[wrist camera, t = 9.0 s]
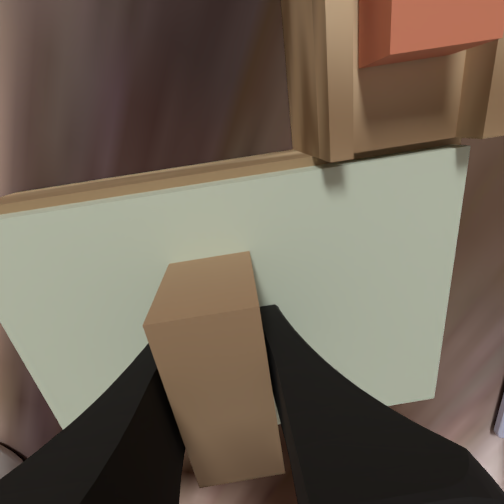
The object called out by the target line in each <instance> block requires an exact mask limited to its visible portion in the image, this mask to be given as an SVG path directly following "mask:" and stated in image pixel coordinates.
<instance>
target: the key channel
mask: <svg viewBox="0 0 504 504" xmlns="http://www.w3.org/2000/svg"><path fill="white" fill-rule="evenodd" d="M281 11H282V23H283V35H284V47H285V60H286V72H287V84H288V97H289V109H290V121H291V133H292V146H293V150H296V151H299V152H302V153H305V154H307V155H310V156H313V157H316V158H319V159H322V160H325V161H328V162H337V161H343V160H350V159H354V153H359V152H365V151H372V150H378V149H385V148H391V147H398V146H404V145H410V144H417V143H423V142H430V141H436V140H443V139H449V138H477V139H484V138H491V137H497V136H504V32H503V38H500V39H497V40H494V41H491V42H488V43H485V44H482V45H479V46H476V47H473V48H469V49H466V50H463V51H460V52H457V53H454V54H451V55H446V56H439V57H432V58H426V59H419V60H413V61H406V62H399V63H393V64H386V65H380V66H373V67H366V68H360V69H359V0H281Z"/></svg>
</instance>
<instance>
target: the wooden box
mask: <svg viewBox="0 0 504 504" xmlns="http://www.w3.org/2000/svg"><path fill="white" fill-rule="evenodd" d="M450 144H455V145H461V138H449V139H443V140H436V141H430V142H423V143H417V144H410V145H404V146H398V147H391V148H385V149H378V150H372V151H365V152H359V153H354V159H361V158H367V157H373V156H380V155H386V154H393V153H399V152H405V151H412V150H418V149H425V148H431V147H437V146H444V145H450ZM354 159H350V160H354ZM343 161H348V160H343ZM337 162H341V161H337ZM328 163H335V162H328V161H325V160H322V159H319V158H316V157H313V156H310V155H307V154H305V153H302V152H299V151H296V150H293V149H292V150H286V151H279V152H273V153H266V154H260V155H254V156H247V157H241V158H234V159H228V160H221V161H215V162H208V163H202V164H196V165H189V166H183V167H176V168H170V169H163V170H157V171H150V172H144V173H137V174H131V175H125V176H118V177H112V178H105V179H99V180H92V181H86V182H79V183H73V184H67V185H60V186H54V187H47V188H41V189H34V190H28V191H21V192H16V193H13V194H9V195H6V196H3V197H0V215H2V214H8V213H14V212H21V211H27V210H34V209H40V208H46V207H53V206H59V205H66V204H72V203H79V202H85V201H91V200H98V199H104V198H111V197H117V196H123V195H130V194H136V193H143V192H149V191H155V190H162V189H168V188H175V187H181V186H187V185H194V184H200V183H207V182H213V181H220V180H226V179H232V178H239V177H245V176H252V175H258V174H264V173H271V172H277V171H284V170H290V169H296V168H303V167H309V166H316V165H322V164H328Z"/></svg>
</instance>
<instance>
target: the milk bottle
mask: <svg viewBox="0 0 504 504" xmlns="http://www.w3.org/2000/svg"><path fill="white" fill-rule="evenodd" d="M22 462H23V460H22V459H21V458H20V457H18V456H17V455H16V454H15V453H14V452H12V451H11V450H9V449H7V448H5V447H4V446H2V445H0V479H1V478H2V477H4V476H5V475H6V474H8V473H9V472H10V471H12V470H13V469H14V468H16V467H17V466H18V465H20V464H21V463H22Z"/></svg>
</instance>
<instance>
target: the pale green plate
mask: <svg viewBox="0 0 504 504" xmlns="http://www.w3.org/2000/svg"><path fill="white" fill-rule="evenodd" d="M470 147H471V146H467V145H455V144H450V145H444V146H437V147H431V148H425V149H418V150H412V151H405V152H399V153H393V154H386V155H380V156H373V157H367V158H361V159H354V160H348V161H341V162H335V163H328V164H322V165H316V166H309V167H303V168H296V169H290V170H284V171H277V172H271V173H264V174H258V175H252V176H245V177H239V178H232V179H226V180H220V181H213V182H207V183H200V184H194V185H187V186H181V187H175V188H168V189H162V190H155V191H149V192H143V193H136V194H130V195H123V196H117V197H111V198H104V199H98V200H91V201H85V202H79V203H72V204H66V205H59V206H53V207H46V208H40V209H34V210H27V211H21V212H14V213H8V214H2V215H0V322H1V324H2V326H3V328H4V329H5V331H6V333H7V334H8V336H9V338H10V340H11V341H12V343H13V345H14V347H15V348H16V350H17V352H18V353H19V355H20V357H21V359H22V360H23V362H24V364H25V365H26V367H27V369H28V371H29V372H30V374H31V376H32V377H33V379H34V381H35V383H36V384H37V386H38V388H39V389H40V391H41V393H42V395H43V396H44V398H45V400H46V401H47V403H48V405H49V407H50V408H51V410H52V412H53V413H54V415H55V417H56V419H57V420H58V422H59V424H60V426H61V427H62V429H65V428H66V427H67V426H68V425H69V424H71V423H72V422H73V421H74V420H75V419H76V418H77V417H78V416H80V415H81V414H82V413H83V412H84V411H85V410H86V409H87V408H88V407H89V406H90V405H91V404H93V403H94V402H95V401H96V400H97V399H98V398H99V397H100V396H101V395H102V394H103V393H104V392H105V391H106V390H107V389H108V388H109V387H110V386H111V385H112V383H113V382H114V381H115V380H116V379H117V378H118V377H119V376H120V375H121V374H122V373H123V372H124V371H125V369H126V368H127V367H128V366H129V365H130V364H131V363H132V362H133V361H134V359H135V358H136V357H137V356H138V355H139V353H140V352H141V351H142V350H143V349H144V348H145V346H146V345H147V344H148V343H149V346H150V349H151V351H152V354H153V357H154V360H155V363H156V366H157V368H158V371H159V374H160V377H161V380H162V383H163V385H164V388H165V391H166V394H167V397H168V400H169V403H170V405H171V408H172V411H173V414H174V417H175V420H176V422H177V425H178V428H179V431H180V434H181V437H182V439H183V442H184V445H185V448H186V451H187V454H188V456H189V459H190V462H191V465H192V468H193V471H194V474H195V476H196V479H197V482H198V485H199V488H203V487H208V486H214V485H220V484H226V483H232V482H238V481H243V480H249V479H255V478H261V477H267V476H273V475H278V474H284V473H285V469H284V462H283V456H282V449H281V443H280V436H279V430H278V424H281V422H280V419H279V415H278V411H277V407H276V404H275V400H274V396H273V391H272V385H271V378H270V372H269V365H268V359H267V352H266V346H265V340H264V333H263V327H262V320H261V314H260V307H261V306H267V305H273V304H275V305H277V306H278V307H279V309H280V311H281V312H282V314H283V315H284V316H285V318H286V319H287V320H288V322H289V323H290V324H291V326H292V327H293V328H294V329H295V330H296V331H297V332H298V334H299V335H300V336H301V337H302V338H303V339H304V340H305V341H306V342H307V343H308V344H309V345H310V346H311V347H312V348H313V349H314V350H315V351H316V352H317V353H318V354H319V355H320V356H321V357H322V358H323V359H324V360H325V361H326V362H328V363H329V364H330V365H331V366H332V367H333V368H335V369H336V370H337V371H338V372H339V373H341V374H342V375H343V376H344V377H346V378H347V379H348V380H350V381H351V382H352V383H354V384H355V385H356V386H358V387H359V388H360V389H362V390H363V391H365V392H366V393H368V394H369V395H371V396H373V397H374V398H376V399H377V400H379V401H380V402H382V403H383V404H385V405H386V406H391V405H397V404H402V403H408V402H414V401H420V400H426V399H432V398H434V395H435V389H436V382H437V375H438V368H439V361H440V354H441V347H442V340H443V333H444V326H445V319H446V313H447V306H448V299H449V292H450V285H451V278H452V271H453V264H454V257H455V250H456V243H457V236H458V230H459V223H460V216H461V209H462V202H463V195H464V188H465V181H466V174H467V167H468V160H469V153H470Z"/></svg>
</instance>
